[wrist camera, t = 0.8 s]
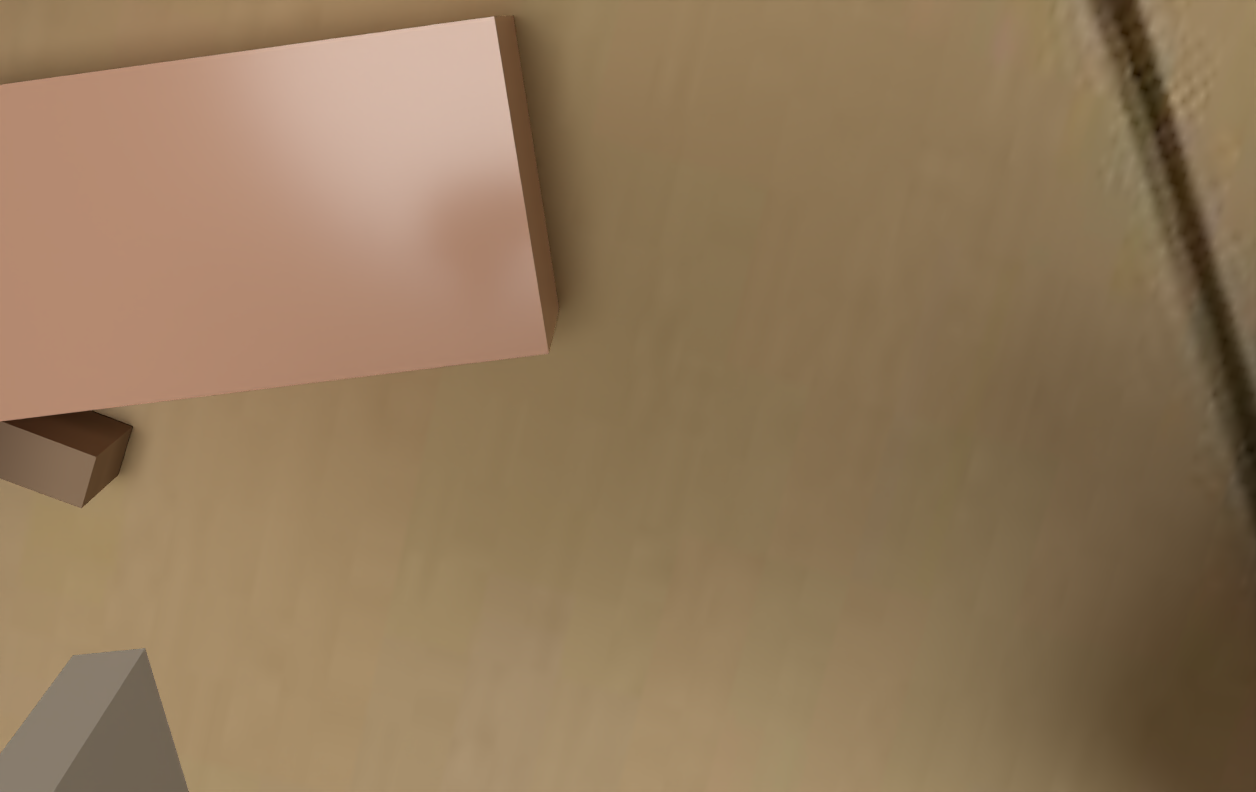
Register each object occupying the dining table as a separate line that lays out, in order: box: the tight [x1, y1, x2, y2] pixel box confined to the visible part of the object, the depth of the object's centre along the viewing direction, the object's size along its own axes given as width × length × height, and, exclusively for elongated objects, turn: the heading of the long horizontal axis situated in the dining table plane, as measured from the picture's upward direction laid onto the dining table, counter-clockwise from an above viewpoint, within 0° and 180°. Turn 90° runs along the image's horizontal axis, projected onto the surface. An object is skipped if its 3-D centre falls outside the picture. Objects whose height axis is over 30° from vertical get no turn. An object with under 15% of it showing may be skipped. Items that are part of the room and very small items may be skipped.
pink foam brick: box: [0, 15, 559, 421], centre depth 24 cm, size 14×7×4 cm, turn 97°
